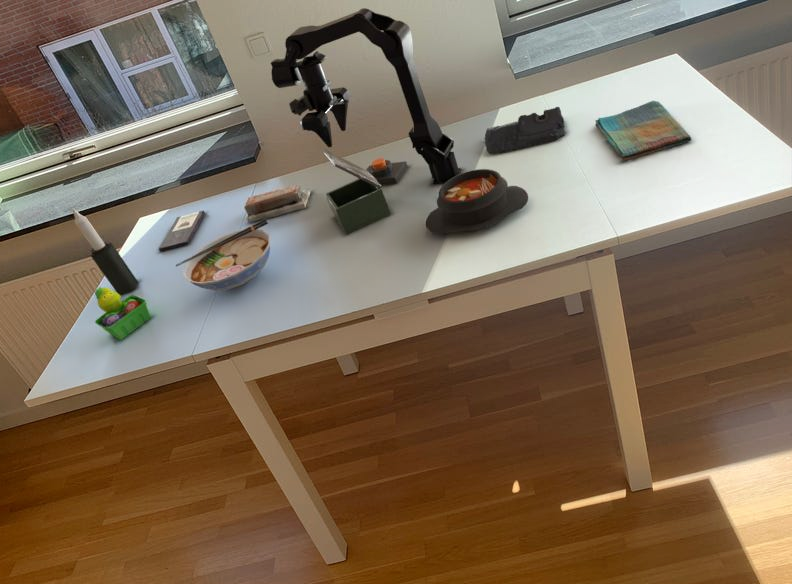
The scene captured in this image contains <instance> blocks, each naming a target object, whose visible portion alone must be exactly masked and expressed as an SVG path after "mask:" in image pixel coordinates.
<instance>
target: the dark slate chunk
mask: <svg viewBox="0 0 792 584" xmlns="http://www.w3.org/2000/svg"><path fill="white" fill-rule="evenodd" d="M565 135H566V130H565V119H564V117H563V115H562V110H561V108H560V106H556V107H554V108H550V109H544V110H543V114H538V113H536V112H532V113H530V114H528V115H527V114H523V115H520V116H518V118H517V120H516V121H513V122H510V123H506V124H502V125H496V126H492V127H488V128H487V129H486V131H485V134H484V145H485V150H486V152H487V153H488V154H490V155H493V154H504V153H508V152H513V151H514V152H515V151H517V150H522V149H527V148H531V147H535V146H538V145H539V146H540V145H543V144H549V143H551V142H555V141H557V140H559V139H560V137H564V136H565Z"/></svg>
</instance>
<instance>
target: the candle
mask: <svg viewBox="0 0 792 584" xmlns="http://www.w3.org/2000/svg"><path fill="white" fill-rule="evenodd" d="M71 211H72V213H73V216H74V223H75V225H76V226H77V228H78V229H79V231H80V232H81V233H82V236H84V238H85V239H86V240H87V242H88V243H89V245H90V247H91V249H92V250H90V252H91V253H90V257H91V259H92V260H93V262H94V263H95V265H96V266H97V267H98V269H99V270H100V272H101V273H102V274H103V275H104V277H105V278H106V280H107V281H108V283H109V284H110V285H111V286H112V288H113V289H114V292H116V293H118V294H119V295H120V296H123V295H125V294H128V293H129V294H130V293H132V292H134V291H135V290H136V287H137V286H138V283H139V281H138V279H137V278H136V277H135V275H134V273H133V272H132V271H131V269H130V267H129V266H128V264H127V263H126V262H125V260H124V258H123V257H122V256H121V254H120V253H119V251H118V250H117V249H116V247H115V246H114V244H113V243H112V242H108V241H104V240H103V239H102V238H101V236H100V235H99V234H98V232H97V231H96V229H95V228H94V227H93V225H92V224H91V222H90V221H89V220H88V217H86V216H84V215H82V214H81V213H79V212H78V211H77V210H76V208H75V207H72V208H71Z"/></svg>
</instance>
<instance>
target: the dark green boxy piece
mask: <svg viewBox="0 0 792 584" xmlns="http://www.w3.org/2000/svg"><path fill="white" fill-rule="evenodd" d="M324 196H325V198H326V200H327V202H328V204H329V207H330V209H331V211H332V215H333V216H334V218H335V220H336V222H337V223H338V224H339V226H340V228H341V229H342V230H343V232H344V233H345V235H349V234H351V233H353V232H355V231H358V230H360V229H362V228H364V227H366V226H368V225H371V224H372V223H373V224H374V223H375V222H377V221H380V220H381V219H383V218H387V217H389V216H390V215H391V214H392V213H391V211H390V207H389V205H388V203H387V199H386V197H385V194H384V191H383V189H382V187H381V188H378V187H376V186H374V185H372V184H370V183H367V182H365V181H363V180H361V179H359V178H357V179H355V180H353V181H351V182H349V183H346V184H344V185H342V186H339V187H337V188H336V189H333V190H331V191H328V192H325V193H324Z"/></svg>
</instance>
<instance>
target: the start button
mask: <svg viewBox="0 0 792 584" xmlns="http://www.w3.org/2000/svg"><path fill="white" fill-rule="evenodd" d="M385 160H386V159H384V158H383V157H382V158H377V159H375V160H373V161H372V162H371V165H373V168H374V170H379V169H382V168H384V167H385V166H386V163H385Z"/></svg>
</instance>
